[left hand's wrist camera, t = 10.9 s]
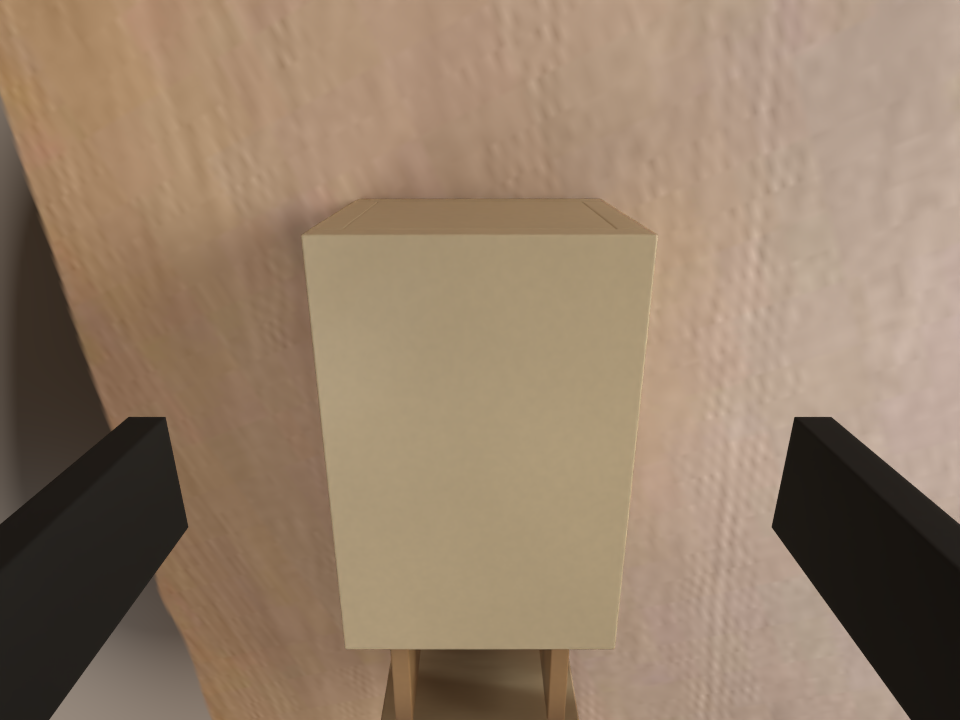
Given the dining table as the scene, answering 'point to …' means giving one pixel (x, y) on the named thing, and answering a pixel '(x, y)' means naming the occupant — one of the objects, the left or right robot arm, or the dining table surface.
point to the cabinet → (479, 415)
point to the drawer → (480, 685)
